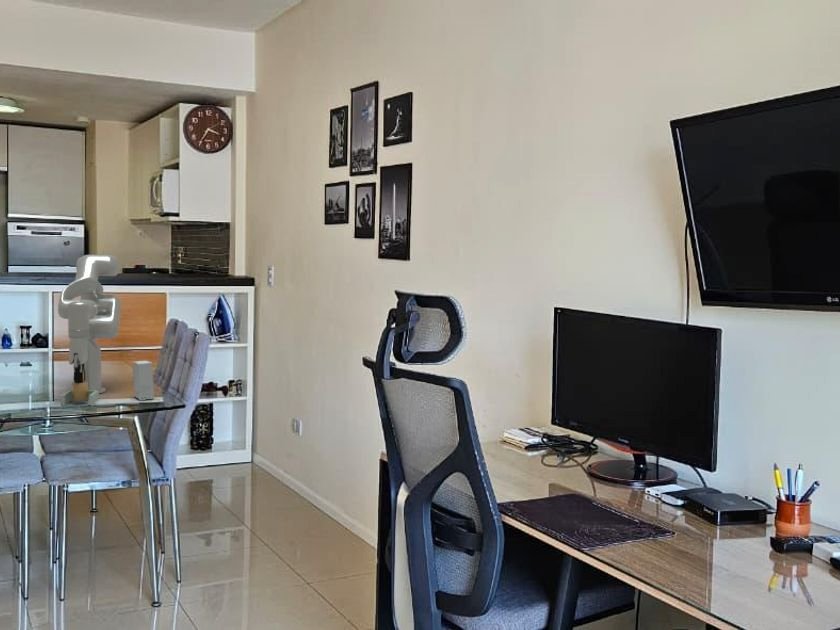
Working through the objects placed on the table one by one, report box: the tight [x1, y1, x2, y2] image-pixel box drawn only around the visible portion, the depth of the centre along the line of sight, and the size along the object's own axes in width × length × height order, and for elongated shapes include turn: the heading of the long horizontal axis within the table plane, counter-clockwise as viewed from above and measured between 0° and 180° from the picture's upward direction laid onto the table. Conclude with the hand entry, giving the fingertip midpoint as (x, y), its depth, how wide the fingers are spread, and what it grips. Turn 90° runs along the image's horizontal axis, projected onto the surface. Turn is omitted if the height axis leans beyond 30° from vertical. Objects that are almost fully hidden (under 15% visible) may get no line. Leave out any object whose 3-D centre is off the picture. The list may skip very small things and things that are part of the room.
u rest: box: [60, 389, 100, 407], centre depth 344 cm, size 10×11×4 cm
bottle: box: [71, 369, 88, 399], centre depth 343 cm, size 6×6×11 cm
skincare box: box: [132, 360, 155, 401], centre depth 354 cm, size 8×6×15 cm
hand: (79, 381), depth 343 cm, fingers closed on bottle, 3 cm apart
